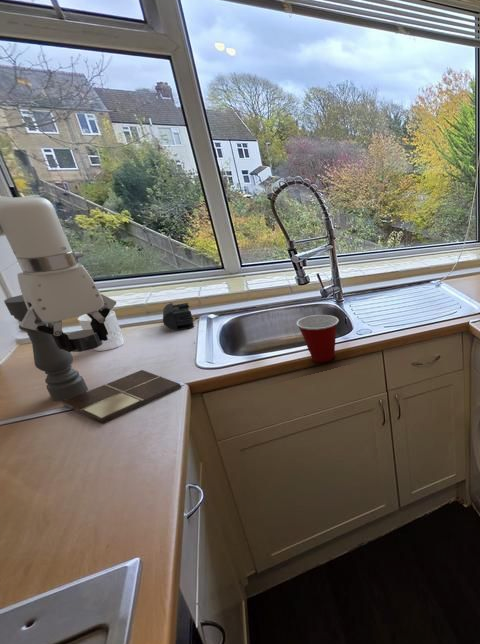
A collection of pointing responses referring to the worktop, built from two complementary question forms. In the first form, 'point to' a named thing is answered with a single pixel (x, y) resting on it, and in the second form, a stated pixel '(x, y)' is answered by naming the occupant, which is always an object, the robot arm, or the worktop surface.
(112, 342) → the white cup
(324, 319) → the plastic cup
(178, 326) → the end cap
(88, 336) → the slate stone
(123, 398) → the grid board
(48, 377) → the candle holder
